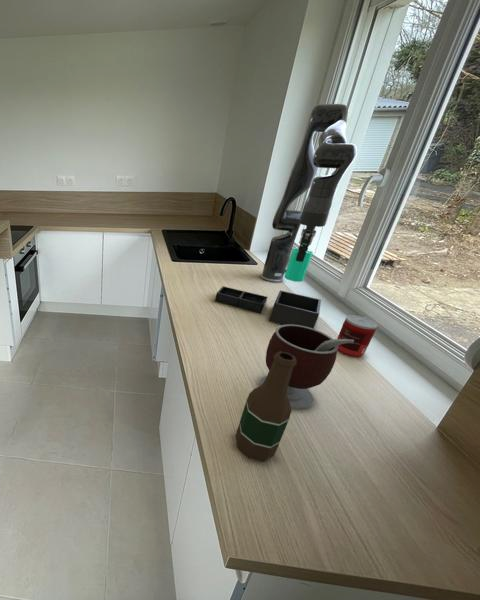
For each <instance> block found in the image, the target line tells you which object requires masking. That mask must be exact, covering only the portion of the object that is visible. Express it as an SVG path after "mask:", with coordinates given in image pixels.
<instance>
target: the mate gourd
mask: <svg viewBox="0 0 480 600" xmlns="http://www.w3.org/2000/svg"><path fill="white" fill-rule="evenodd" d="M345 343H354V340H349V339H337V338H333V337H332V336H330V335H328V334H327V333H325V332H322V331H321V330H318V329H315V328H314V329H313V328H309V327H305V326H301V325H293V324H287V325H281V324H280V325H279V326H276V329H275V331H274V332H273V334H272V336H271V337H270V339H269V341H268V345H267V347H266V350H265V351H266V352H265V365H266V367H267V369H268V371H269V370H270V368H271V366H272V363H273V361H274V357H273V356H274V355H275V354H276V353H277V352H280V351H281V352H287V353H289V354H291V355H293V356H295V358H296V361H297V365H295V366H294V367H293V370H292V374H291V377H290V381H289V385H288V388H287V396H288V399H289V402H290V405H291V410H307V409H309V408H310V407H311V406H312V405H313V403H314V397H313V395H312V393H311V391H309V389H311V388H313V387H317V386H320V385H321V384H322V383H324V381H326V380H327V378H328V377H329V375H330V374H331V372H332V371H333V368H334V366H335V363H336V360H337V356H338V351H337V349H338V345H341V344H345ZM266 377H267V375H266V376H263V377H262V378H261V379H260V380H259V383H258V387H259V386H261V385H262V384H263V382H264V381H265V379H266Z"/></svg>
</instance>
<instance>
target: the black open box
mask: <svg viewBox="0 0 480 600" xmlns="http://www.w3.org/2000/svg"><path fill="white" fill-rule="evenodd" d="M321 303H322V299H320V298H317V297H316V298H315V297H311V296H308V295H304V294H303V295H302V294H298V293H293V292H290V291H284V290H279V291H278V293H277V296H276V298H275V300H274V303H273V306H272V309H271V313H270V315H269V319H268V322H270V323H273V324H277V325H280V326H281V325H287V324H293V325H301V326H305V327H309V328H313V329H315V326H316V323H317V320H318V318H319V315H320V311H321V306H322V305H321Z"/></svg>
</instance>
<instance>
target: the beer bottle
mask: <svg viewBox="0 0 480 600" xmlns="http://www.w3.org/2000/svg"><path fill="white" fill-rule="evenodd" d="M273 357H274V361H273V363H272V366H271V368H270V370H269V369H268V371H267V372H268V373H267V374H266V376H267V377H266V376H265V377H266V379H265V381H264V382H263V384H262V385H261V386H259V385H258V386H256V387H255V388H253V390H251V391H250V392H249V394H248V396H247V398H246V401H245V404H244V407H243V410H242V412H241V416H240V420H239V422H238V426H237V429H236V433H235V442H236V448H237V450H239V452H241V453H242V454H243V455H244V456H245V457H246V458H247V459H250V460H253V461H257V462H261V463H265V462H266V461H268V460H269V459H272V458H273V457H274V455H275V454H276V453H277V450H278V448H279V445H280V443H281V439H282V438H283V436H284V433H285V431H286V428H287V425H288V423H289V422H290V421H289V420H290V417H291V414H292V409H291V405H290V402H289V399H288V396H287V388H288V385H289V381H290V377H291V374H292V370H293V367H294V366H295V365H297V361H296V358H295V356H293V355H291V354H289V353H287V352H281V351H280V352H277V353H276V354H275V355H274V356H273Z"/></svg>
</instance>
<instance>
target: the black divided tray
mask: <svg viewBox="0 0 480 600" xmlns="http://www.w3.org/2000/svg"><path fill="white" fill-rule="evenodd" d="M267 301H268V296H265V295H262V294H258V293H253V292H248V291H246V290H241V289H236V288H232V287H229V286H224V285H223V286H221V287H220V288H219V290H218V291H217V292H216V295H215V299H214V302H215V303H218V304H223V305H227V306H230V307H234V308H237V309H240V310H246V311H249V312H252V313H256V314H260V315H261V314H262V313H263V311H264V308H265V307H266V304H267Z"/></svg>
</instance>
